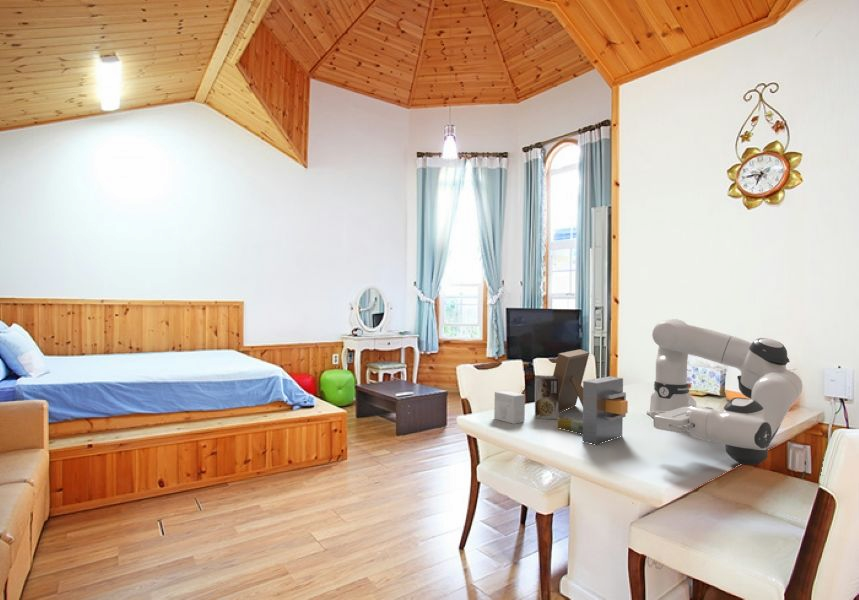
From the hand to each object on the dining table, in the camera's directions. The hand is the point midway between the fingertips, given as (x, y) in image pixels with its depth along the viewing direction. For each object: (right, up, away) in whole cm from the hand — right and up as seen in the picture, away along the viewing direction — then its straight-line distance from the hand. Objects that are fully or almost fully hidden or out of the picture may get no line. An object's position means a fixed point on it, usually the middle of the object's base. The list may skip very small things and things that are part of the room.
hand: (653, 413), depth 149 cm
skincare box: (-38, -12, +38) cm, 55 cm away
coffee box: (-23, -12, +42) cm, 49 cm away
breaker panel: (-10, -12, +12) cm, 20 cm away
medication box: (-18, -12, +23) cm, 32 cm away
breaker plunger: (-9, -2, +11) cm, 14 cm away
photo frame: (-10, -12, +52) cm, 54 cm away
